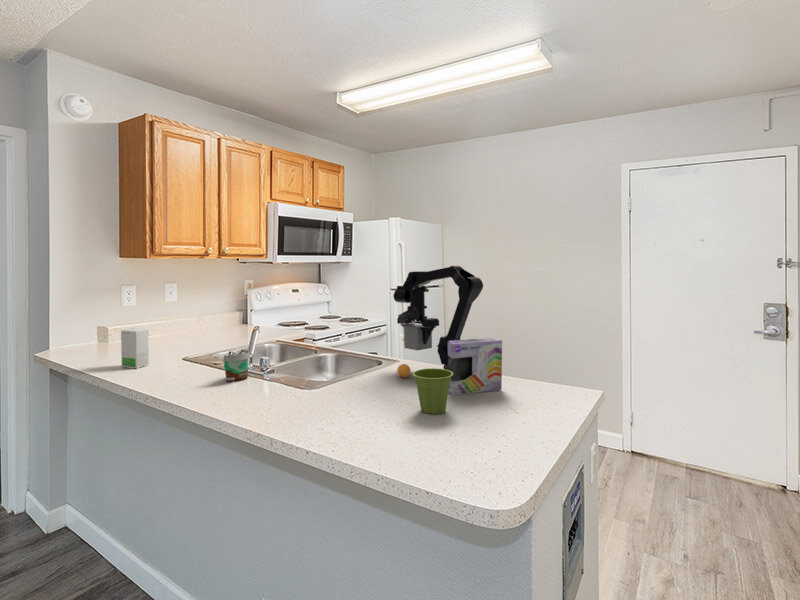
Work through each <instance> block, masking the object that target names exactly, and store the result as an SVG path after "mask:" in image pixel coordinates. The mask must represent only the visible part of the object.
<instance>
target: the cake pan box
mask: <svg viewBox="0 0 800 600" xmlns="http://www.w3.org/2000/svg"><path fill="white" fill-rule="evenodd" d="M502 369H503V340H502V339H500V338H498V337H488V338H487V337H486V338H470V339H469V338H468V339H460V340H454V341H448V365H447V370H449V371H451V372H453V376H451V382H450V384H449V390H448V394H451V395H452V396H456V395H458V396H459V395H468V394H476V393H485V392H493V391H499V390H502V386H503V385H502V384H503V383H502V380H503V379H502V378H503V377H502V375H503V374H502V373H503V370H502Z"/></svg>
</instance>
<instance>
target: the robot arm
mask: <svg viewBox="0 0 800 600" xmlns="http://www.w3.org/2000/svg"><path fill="white" fill-rule="evenodd" d="M449 278H451V279H452V280H453V282H454V285H456V286H457V287H458V288H457V289H458V291H457V293H458V302H457V305H456V308H455V311H454V314H453V317H452V320H451V323H450V326H449V329H448V332H447V334H446V335H444V336H440V338H439V341H438V344H437V346H436V347H437V354H438V356H439V357H438V358H439V360H440V363H441V364H442V365H443V369H445V370H447V365H448V341H454V340H461V336H462V333H463V332H464V327H465V325H466V322H467V319H468V317H469V313H470V311H471V308H472V305H473V303H474V302H475V301H476V300H477V298H478V297H479V296H480V294H481V292H482V290H483V287H484V283H483V281H482V279H481V278H480V277H477V276H476V275H474V274H472V273H471V272H469V271H467V270H465V269H464V267H462V266H461V265H451V266H448V267H444V268H443V267H442V268H439V269H433V270H429V271H425V270H424V271H423V270H422V271H421V270H419V271H409V272H408V275H407V277H406V279H405V280H404V283H403V284H402V285H397V286H396V289H395V290H394V292H393V300H394V301H395V302H396V303H401V304H402V303H404V304H409V305H407V308H406V311H403V312H401V313H400V314H398V315H397V320H396V321H397V322H396V323H397V324H400V326H401V327H402V328H404V326H408V325H415V324H421V325H422V326H423V327H420V328H421V329H422V331H423V342H424V344H427V341H428V339H429V337H430V335H431V333H432V334H433V331H434V329H436V328H437V327H439V326H440V320H439V319H438V318H436V317H435V318H434V317H430V318H429V317H428V315H426V309H428V306H427V305H426V303H425V299H426V298H425V295H426V294H425V293H428V292H430V290H429V288H427V287H426V285H428V284H430V283H431V282H434V281H439V280H445V279H449Z"/></svg>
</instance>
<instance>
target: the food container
mask: <svg viewBox="0 0 800 600" xmlns="http://www.w3.org/2000/svg"><path fill="white" fill-rule="evenodd" d="M250 358H251V354H250V351H249V350H247V349H240V351H239V352H237V353H235V352H234V353H232V354H230V355H223V357H222V359H223V360H222V361H223V363H224V371H225V380H226V383H238V382H244V381H245V380H248V377H249V375H248V372H249V359H250Z"/></svg>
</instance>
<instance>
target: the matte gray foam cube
mask: <svg viewBox="0 0 800 600" xmlns="http://www.w3.org/2000/svg"><path fill="white" fill-rule="evenodd" d="M414 324H415V325H408V326H404V327H403V343H404V344H403V346H404V347H403V348H404V349H406V350H407V349H408V350H414V351H423V350H428V349H432V348H433V338H432V337H433V336H432V335H433V332H432V333H431V335H430V337H429V339H428V341H427V344H424V342H423V331H422V329H421V328H420V327H423V326H422V324H418V323H414Z"/></svg>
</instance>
